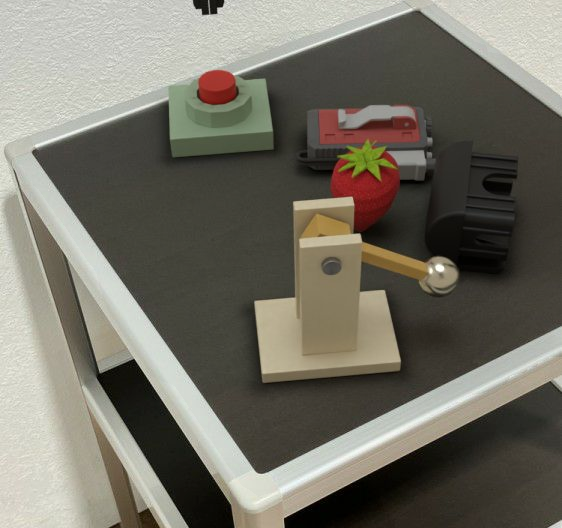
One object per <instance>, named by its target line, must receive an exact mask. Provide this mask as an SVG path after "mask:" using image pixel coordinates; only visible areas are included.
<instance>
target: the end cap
mask: <svg viewBox="0 0 562 528" xmlns="http://www.w3.org/2000/svg"><path fill="white" fill-rule="evenodd" d="M473 145H474V139H464V140H458V141H456V142H453V143H451V144H449V145H447V146H446V147H444V148H443V149H442V150H441V151H440V152H439V154H438V155H437V157H436V158H435V159H436V162H435V166H434V173H432V174H433V175H432V180H431V188H430V194H429V201H428V207H427V208H428V209H427V214H426V220H425V228H424V234H423V235H424V236H423V240H424V244H425V247H426V249H427V251H428V252H429V254H430V256H432V257H435V256H444V257H447V258H449V259H451V260H452V261H453V262H454V263H455V264H456V265H457V267H458V269H459V270H460V271H461V270H463V271H470V272H478V273H479V272H480V273H489V274H501V273H503V272H504V269H505V264H506V263H505V262H507V260H508V259H507V258H508V253H509V249H510V245H508V238H512V234H513V230H514V226H515V217H516V204H517V196H512V195H511V194H512V189H513V187H514V186H513V185H514V180H517V179H518V171H519V155H517V154H516V155H515V154H505V153H494V152H485V151H484V152H483V151H474V150H473Z"/></svg>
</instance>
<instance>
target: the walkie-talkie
mask: <svg viewBox="0 0 562 528" xmlns="http://www.w3.org/2000/svg"><path fill="white" fill-rule="evenodd" d="M432 122H433V120H432V118H431V116H425V114H424V109H423V108H422V107H420V106H411V105H409V104H393V105H392V106H391V105H390V104H374V105H372V104H369V105H367V106H366V107H350V108H349V107H346V108H342V107H340V108H336V107H335V108H312V109H310V110H307V111H306V138H307V139H306V140H307V143H306V144H307V149H303V150H299V151H298V152H296V155H295V161H296V163H297V164H298V165H300V166H306V167H309V168H311V169H312V170H315V171H325V170H326V171H328V170H334V168H335V166H336V164H337V162H338V161H339V160H340V159H341V158H338V157H337V156H338V155H346V154H347V153H348V152H350V151H351V150H350V149H348V148H347V146H351V147H354V148H358V147H363V146H364V144H365V143H366V141H367V139H369V142H370V145H372V144H373V143H374V142H375V141H377V142H376V143H374V144H373V145H372V146H374V147H379V148H380V147H384V146H387V147H386V148H385V151H386V152H388V153H389V154H390V155H391V156H392V157H393V158H394V159H395V160H396V162H397V164H398V168H399V176H400V181H411V180H413V181H417V182H418V181H425V178H426V174H433V173H434V166H435V162H436V159H437V158H433V152H431V151H430V152H429V151H428V148H431V147H433V137H432V134H433V133H432V131H433V123H432Z"/></svg>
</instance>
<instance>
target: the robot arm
mask: <svg viewBox="0 0 562 528" xmlns="http://www.w3.org/2000/svg"><path fill="white" fill-rule="evenodd" d="M192 5H193V7H194V9H195V10H201V16H209V15H210V16H213V15H218V14H219V13H218V9H219V8H220V9H221V8H224V5H225V0H192Z"/></svg>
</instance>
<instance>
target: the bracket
mask: <svg viewBox="0 0 562 528" xmlns="http://www.w3.org/2000/svg"><path fill="white" fill-rule="evenodd" d="M292 206H293V207H292V214H293V215H292V217H293V256H294V257H293V258H294V261H293V262H294V297H285V298H273V299H271V298H270V299H261V300H254V315H255V326H256V333H257V343H258V353H259V362H260V372H261V373H260V374H261V382H262V384H268V383H269V384H270V383H279V382H280V383H281V382H291V381H301V380H313V379H323V378H335V377H346V376H358V375H359V376H360V375H368V374H369V375H370V374H381V373H391V372H392V373H393V372H400V371H401V365H402V360H401V356H400V351H399V346H398V341H397V337H396V334H395V333H396V332H395V328H394V324H393V321H392V316H391V315H392V314H391V311H390V307H389V302H388V297H387V293H386V290H385V289H379V290H367V291H366V290H365V291H361V279H362V278H361V275H362V261H361V259H362V242H363V239H362V235H361V233H354V201H353V197H343V198H333V197H332V198H331V197H330V198H320V199H308V200H296V201H295V200H294V201H293V202H292ZM316 213H317V214H320V215H323V216H326V217H329V218H332V219H335V220H338V221H341V222H344V223H347V224H349V226H350V231H351V234H348V235H336V236H324V237H312V238H301V235H302V234H303V232H304V231H305V229H306V228H307V226H308V225H309V223H310V222H311V220H312V219H313V218H314V216H315V215H316Z"/></svg>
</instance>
